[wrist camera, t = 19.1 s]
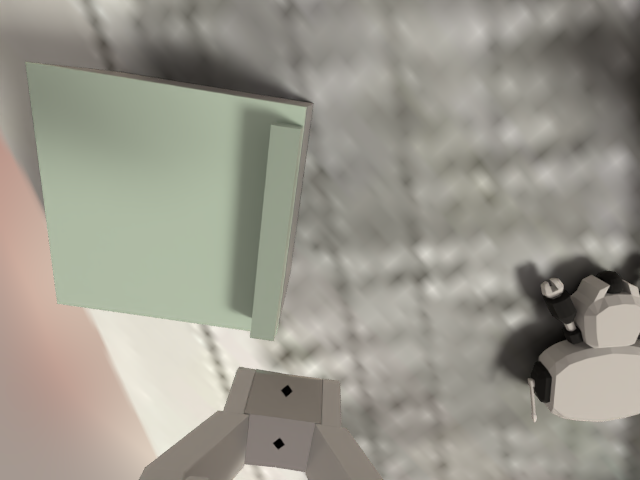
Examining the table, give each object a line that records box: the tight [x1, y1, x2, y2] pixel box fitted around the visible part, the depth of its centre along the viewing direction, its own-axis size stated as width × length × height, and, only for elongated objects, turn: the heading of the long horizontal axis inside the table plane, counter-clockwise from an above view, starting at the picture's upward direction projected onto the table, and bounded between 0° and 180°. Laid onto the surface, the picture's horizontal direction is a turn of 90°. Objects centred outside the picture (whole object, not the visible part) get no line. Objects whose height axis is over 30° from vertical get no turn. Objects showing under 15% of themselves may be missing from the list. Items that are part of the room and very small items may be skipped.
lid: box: [25, 62, 307, 341], centre depth 22 cm, size 15×15×3 cm
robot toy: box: [528, 271, 640, 423], centre depth 34 cm, size 12×4×15 cm
